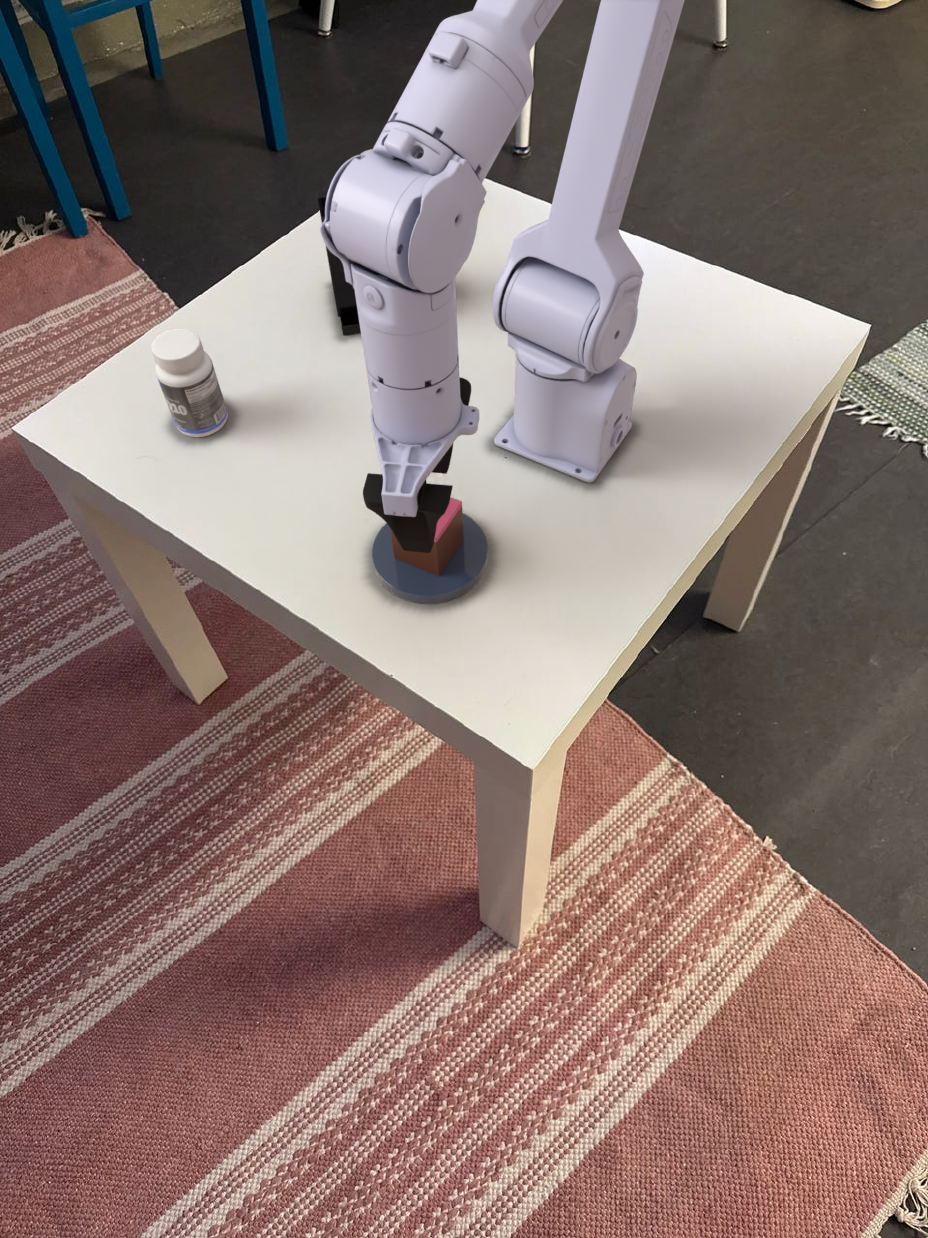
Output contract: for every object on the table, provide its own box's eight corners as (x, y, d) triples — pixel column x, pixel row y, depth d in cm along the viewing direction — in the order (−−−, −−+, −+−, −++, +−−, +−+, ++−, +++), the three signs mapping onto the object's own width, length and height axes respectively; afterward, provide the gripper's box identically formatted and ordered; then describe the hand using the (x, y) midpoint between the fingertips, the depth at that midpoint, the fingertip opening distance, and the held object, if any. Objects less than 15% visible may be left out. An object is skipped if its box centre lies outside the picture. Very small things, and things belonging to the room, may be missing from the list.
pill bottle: (165, 418, 82) (135, 341, 75) (211, 394, 83) (185, 316, 77) (192, 446, 80) (164, 370, 73) (239, 421, 81) (215, 344, 74)
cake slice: (393, 558, 71) (388, 519, 67) (419, 522, 73) (415, 483, 69) (439, 576, 70) (436, 538, 66) (464, 540, 72) (462, 501, 68)
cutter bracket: (375, 279, 93) (362, 176, 84) (386, 329, 88) (374, 225, 79) (332, 285, 92) (314, 182, 83) (341, 335, 88) (323, 232, 79)
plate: (508, 541, 73) (509, 532, 72) (449, 622, 68) (448, 614, 68) (413, 498, 75) (412, 490, 75) (350, 574, 71) (349, 566, 70)
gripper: (460, 448, 51) (466, 591, 63) (491, 289, 60) (492, 441, 71) (337, 438, 52) (365, 582, 63) (385, 282, 60) (402, 434, 71)
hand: (426, 507), depth 67 cm, fingers open, 7 cm apart
